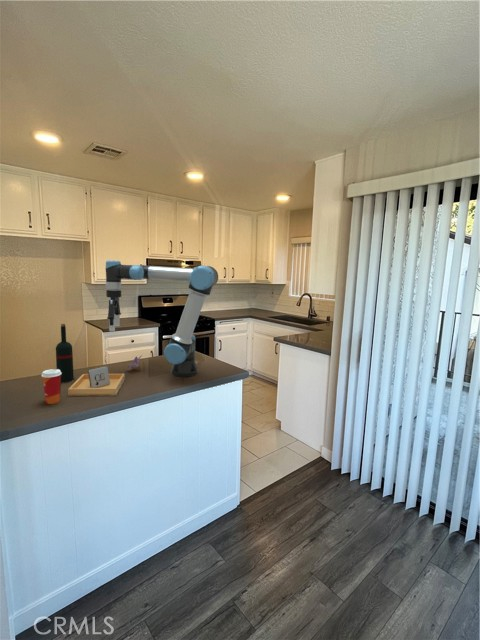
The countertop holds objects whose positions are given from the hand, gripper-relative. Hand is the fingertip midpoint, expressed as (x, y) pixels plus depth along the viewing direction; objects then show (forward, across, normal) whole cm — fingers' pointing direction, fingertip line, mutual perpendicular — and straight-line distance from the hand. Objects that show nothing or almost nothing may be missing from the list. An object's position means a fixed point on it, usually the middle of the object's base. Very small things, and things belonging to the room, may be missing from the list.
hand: (114, 328), depth 174 cm
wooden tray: (+26, +19, -5) cm, 33 cm away
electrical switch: (+26, +19, -5) cm, 32 cm away
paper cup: (+26, +34, -20) cm, 48 cm away
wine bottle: (+26, +6, -24) cm, 36 cm away
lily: (+27, -7, +9) cm, 29 cm away
